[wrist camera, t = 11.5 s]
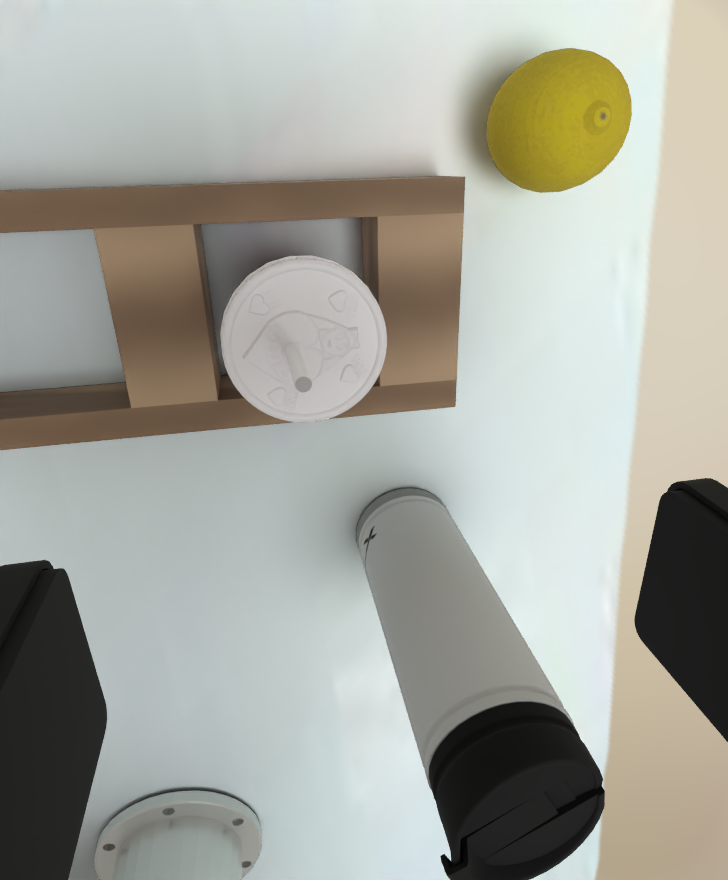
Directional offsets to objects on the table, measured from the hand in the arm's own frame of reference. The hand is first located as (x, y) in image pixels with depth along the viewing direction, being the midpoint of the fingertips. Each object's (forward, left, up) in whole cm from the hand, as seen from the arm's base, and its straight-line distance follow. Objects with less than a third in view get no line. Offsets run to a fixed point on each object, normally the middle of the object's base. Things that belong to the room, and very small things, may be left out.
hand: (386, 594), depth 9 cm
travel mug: (-15, -6, -24) cm, 29 cm away
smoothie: (0, 0, -24) cm, 24 cm away
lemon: (+8, -12, -24) cm, 28 cm away
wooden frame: (0, +6, -24) cm, 25 cm away
